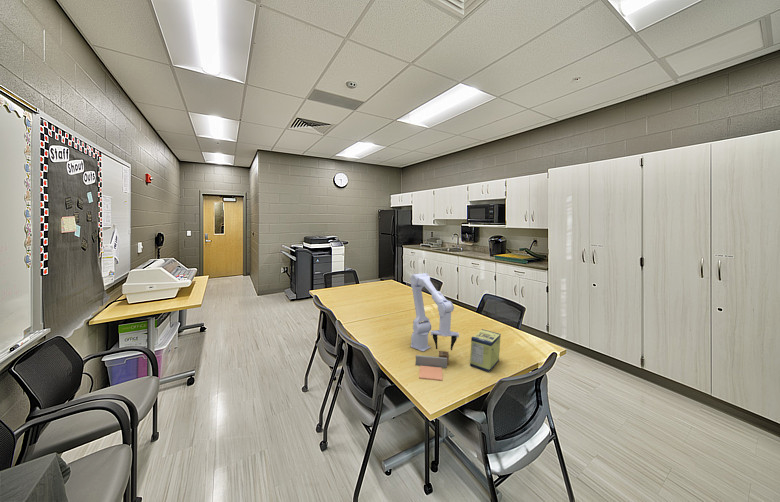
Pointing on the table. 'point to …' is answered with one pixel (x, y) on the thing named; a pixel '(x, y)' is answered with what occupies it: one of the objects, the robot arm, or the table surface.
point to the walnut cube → (444, 355)
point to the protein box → (485, 350)
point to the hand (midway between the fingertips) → (443, 348)
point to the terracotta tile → (430, 373)
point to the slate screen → (431, 361)
